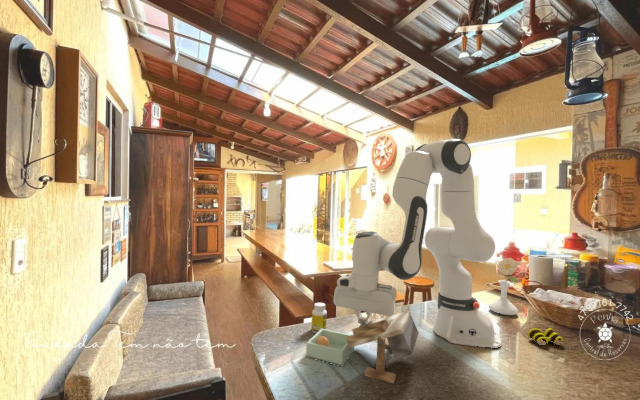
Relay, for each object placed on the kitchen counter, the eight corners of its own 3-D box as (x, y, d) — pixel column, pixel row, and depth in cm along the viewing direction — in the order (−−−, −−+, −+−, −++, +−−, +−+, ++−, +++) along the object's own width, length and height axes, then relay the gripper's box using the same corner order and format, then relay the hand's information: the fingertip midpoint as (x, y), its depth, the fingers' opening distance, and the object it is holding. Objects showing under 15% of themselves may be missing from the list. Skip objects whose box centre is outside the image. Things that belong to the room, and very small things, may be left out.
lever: (418, 332, 101) (407, 305, 102) (411, 355, 86) (398, 323, 87) (370, 344, 107) (360, 319, 108) (356, 368, 92) (345, 338, 94)
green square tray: (354, 349, 103) (354, 335, 103) (341, 366, 92) (342, 351, 92) (321, 341, 108) (321, 328, 108) (306, 357, 97) (306, 342, 97)
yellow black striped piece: (537, 349, 110) (540, 336, 108) (526, 339, 115) (528, 326, 114) (562, 348, 111) (565, 335, 110) (550, 338, 116) (553, 326, 115)
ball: (323, 331, 103) (317, 341, 104) (317, 336, 100) (312, 346, 100) (333, 339, 102) (327, 349, 103) (328, 344, 98) (322, 354, 99)
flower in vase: (482, 307, 146) (485, 253, 145) (506, 307, 147) (508, 254, 146) (502, 319, 133) (505, 260, 132) (527, 319, 134) (530, 260, 133)
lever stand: (406, 347, 105) (407, 314, 105) (393, 383, 85) (395, 343, 85) (382, 342, 109) (383, 310, 108) (364, 375, 88) (365, 336, 88)
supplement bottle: (324, 334, 113) (325, 307, 113) (309, 333, 114) (310, 306, 114) (327, 328, 118) (328, 302, 118) (313, 326, 119) (314, 301, 119)
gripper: (398, 284, 102) (396, 326, 102) (339, 275, 110) (337, 314, 111) (395, 289, 96) (393, 334, 97) (332, 279, 105) (330, 320, 105)
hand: (363, 323), depth 104 cm, fingers closed
